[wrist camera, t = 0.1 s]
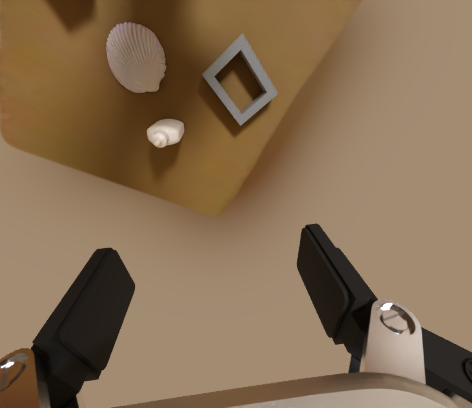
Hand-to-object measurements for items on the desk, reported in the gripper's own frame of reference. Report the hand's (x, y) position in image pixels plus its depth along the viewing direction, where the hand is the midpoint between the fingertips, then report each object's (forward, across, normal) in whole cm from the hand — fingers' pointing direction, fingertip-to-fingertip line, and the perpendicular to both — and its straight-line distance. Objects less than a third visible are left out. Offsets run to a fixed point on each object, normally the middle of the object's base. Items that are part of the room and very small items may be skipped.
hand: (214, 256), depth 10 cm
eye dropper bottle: (+37, +9, 0) cm, 38 cm away
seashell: (+38, +12, -11) cm, 41 cm away
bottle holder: (+37, -6, -7) cm, 38 cm away
